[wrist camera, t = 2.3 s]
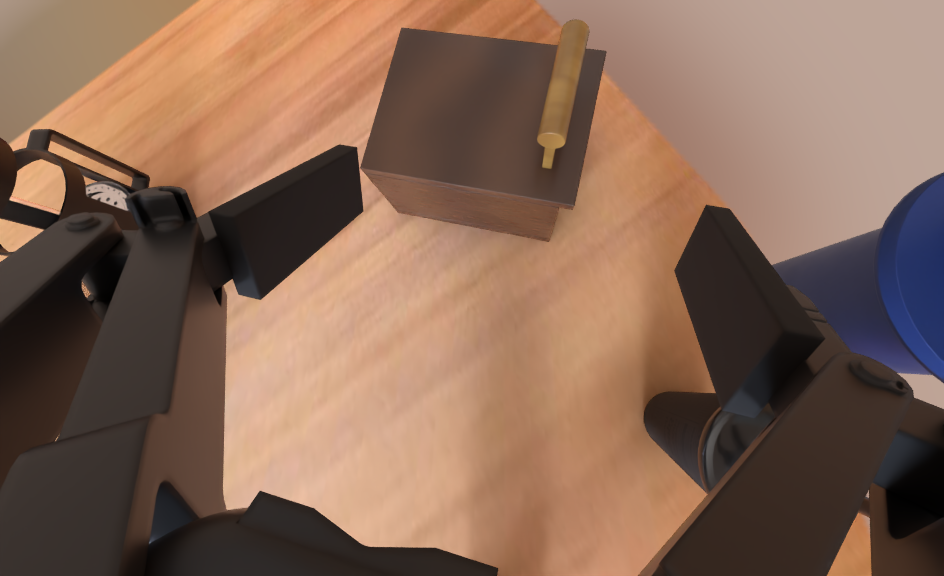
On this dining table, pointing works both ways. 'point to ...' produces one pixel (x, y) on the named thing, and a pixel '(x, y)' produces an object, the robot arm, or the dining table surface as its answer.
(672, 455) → the drinking cup
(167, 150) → the dining table surface
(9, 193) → the french press
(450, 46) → the chest door
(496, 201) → the chest
